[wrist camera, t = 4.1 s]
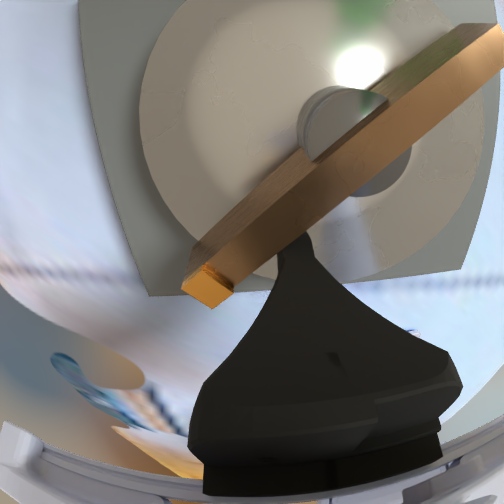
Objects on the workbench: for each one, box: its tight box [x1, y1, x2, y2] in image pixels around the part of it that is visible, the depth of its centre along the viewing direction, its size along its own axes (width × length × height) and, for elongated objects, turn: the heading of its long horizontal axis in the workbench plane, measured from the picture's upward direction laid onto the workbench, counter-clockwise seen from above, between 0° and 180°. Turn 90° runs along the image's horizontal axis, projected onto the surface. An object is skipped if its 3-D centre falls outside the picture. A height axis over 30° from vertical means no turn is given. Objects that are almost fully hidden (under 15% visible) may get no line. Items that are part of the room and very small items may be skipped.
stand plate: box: [78, 0, 500, 296], centre depth 10 cm, size 16×18×2 cm
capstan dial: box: [139, 0, 504, 309], centre depth 8 cm, size 13×13×4 cm
